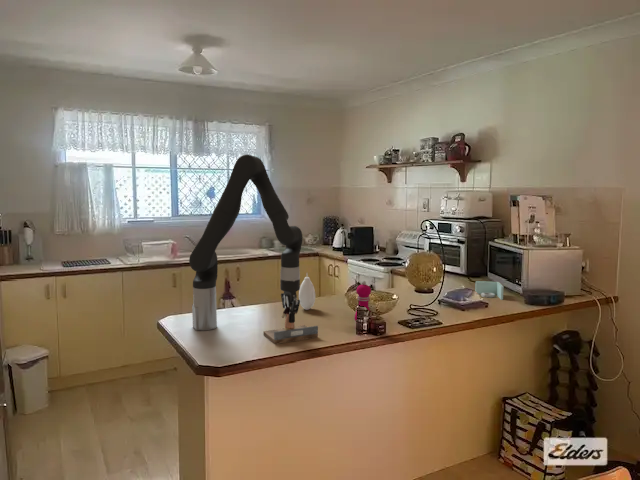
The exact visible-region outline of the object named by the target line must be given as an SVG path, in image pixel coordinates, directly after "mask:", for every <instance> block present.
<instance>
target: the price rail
mask: <svg viewBox="0 0 640 480" xmlns="http://www.w3.org/2000/svg"><path fill="white" fill-rule="evenodd" d="M312 334H318V335H319V325H313V326H307V327H305V328H298V329H291V330H284V331H277V332H274V340H279V339H286V338H292V337H299V336H305V335H312Z"/></svg>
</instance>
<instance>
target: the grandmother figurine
mask: <svg viewBox="0 0 640 480" xmlns="http://www.w3.org/2000/svg"><path fill="white" fill-rule="evenodd" d="M286 303H287V300H286ZM291 305H292V304H291ZM291 308H292V307H291ZM297 314H298V312H297V313H295V315H297ZM281 315H282V316H281V318H282V319H284V318H285V319H284V330H290V329H295V328H294V327H296V326H295V322H294V323H290V322H289V308H288V307H286V308H284V310H283V312H282V314H281Z"/></svg>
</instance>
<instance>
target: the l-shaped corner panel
mask: <svg viewBox="0 0 640 480" xmlns="http://www.w3.org/2000/svg"><path fill="white" fill-rule="evenodd" d="M474 289H475V291H476V292H477V293H478V294H477V295H480V296H481V298H482V297H483V298H487V299H488V298H489V299H491V298H495V297H496V296H497V297H498V298H499V299H500V300H501V301H503V300H504V285H502V283H500V281H485V280H482V281H481V280H480V281H479V280H476V281H475V288H474ZM475 291H474V292H475Z"/></svg>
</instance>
